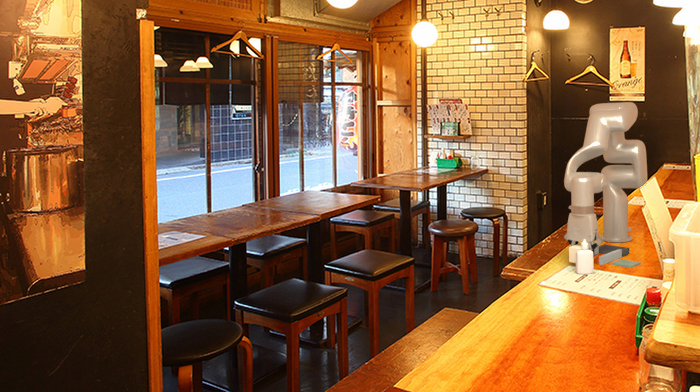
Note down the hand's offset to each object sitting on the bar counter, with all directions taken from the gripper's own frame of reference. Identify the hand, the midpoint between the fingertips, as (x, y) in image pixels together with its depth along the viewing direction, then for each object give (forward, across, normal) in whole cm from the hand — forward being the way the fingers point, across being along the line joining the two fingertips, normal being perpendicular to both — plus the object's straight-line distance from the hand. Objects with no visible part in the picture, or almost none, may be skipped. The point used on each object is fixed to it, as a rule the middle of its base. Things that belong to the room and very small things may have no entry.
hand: (583, 258), depth 216 cm
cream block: (+1, 0, -2) cm, 2 cm away
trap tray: (+3, 0, +21) cm, 21 cm away
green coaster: (+2, +11, +9) cm, 15 cm away
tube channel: (+3, 0, +10) cm, 11 cm away
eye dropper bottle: (+2, +6, -10) cm, 12 cm away
